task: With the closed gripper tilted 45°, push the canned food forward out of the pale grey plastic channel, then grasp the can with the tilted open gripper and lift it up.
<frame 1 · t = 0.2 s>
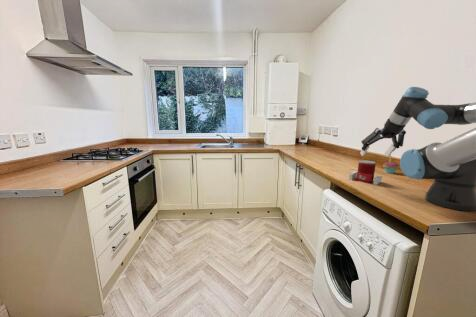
hand: (374, 154, 108), 15 cm above the counter, tool tilted 35°, fingers open, 13 cm apart
canned food: (364, 181, 114), on the counter
cupcake: (389, 172, 133), on the counter
channel: (363, 181, 113), on the counter
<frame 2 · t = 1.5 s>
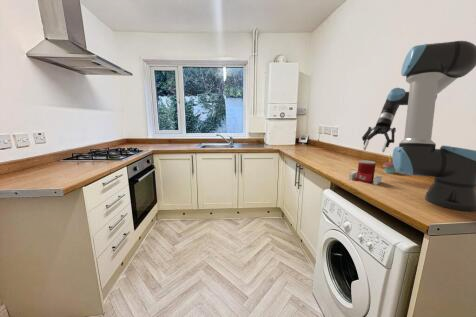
hand: (373, 149, 117), 17 cm above the counter, tool tilted 45°, fingers open, 9 cm apart
nothing on the counter moved.
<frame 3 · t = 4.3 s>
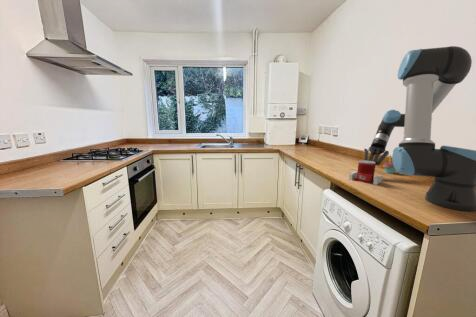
hand: (367, 172, 117), 4 cm above the counter, tool tilted 45°, fingers closed
canned food: (364, 181, 114), on the counter, touching gripper
everything else where it was.
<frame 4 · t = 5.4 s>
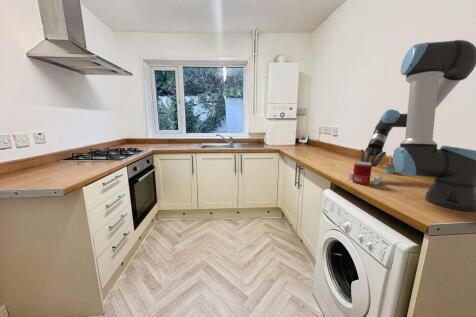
hand: (364, 174, 113), 4 cm above the counter, tool tilted 45°, fingers closed
canned food: (360, 183, 110), on the counter, touching gripper
everything else where it was.
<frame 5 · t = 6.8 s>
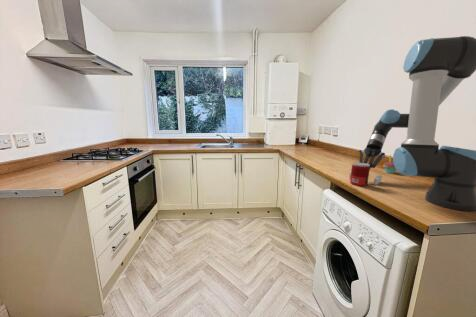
hand: (362, 176, 110), 4 cm above the counter, tool tilted 45°, fingers closed
canned food: (358, 184, 108), on the counter, touching gripper
everything else where it was.
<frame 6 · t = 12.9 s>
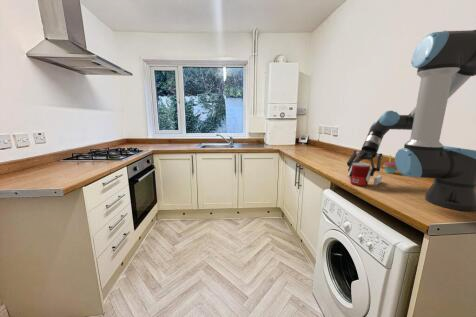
hand: (357, 178, 105), 4 cm above the counter, tool tilted 45°, fingers closed on canned food, 8 cm apart
canned food: (358, 184, 107), on the counter, touching gripper
everything else where it was.
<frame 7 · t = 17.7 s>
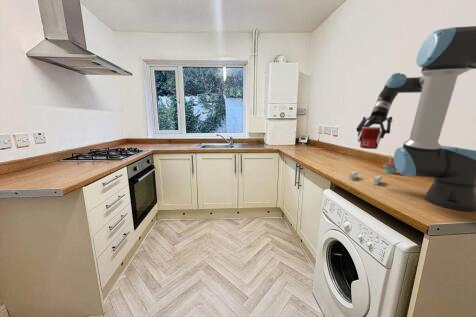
hand: (367, 141, 106), 23 cm above the counter, tool tilted 45°, fingers closed on canned food, 8 cm apart
canned food: (368, 148, 108), point 19 cm above the counter, touching gripper
everything else where it was.
at the end: the gripper is holding canned food; canned food inside the target area (2.5 cm from its centre), point 18.7 cm above the counter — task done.
